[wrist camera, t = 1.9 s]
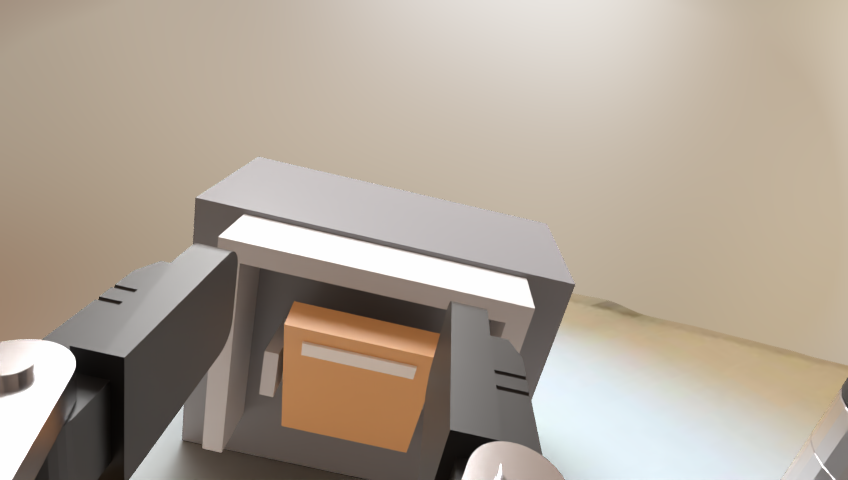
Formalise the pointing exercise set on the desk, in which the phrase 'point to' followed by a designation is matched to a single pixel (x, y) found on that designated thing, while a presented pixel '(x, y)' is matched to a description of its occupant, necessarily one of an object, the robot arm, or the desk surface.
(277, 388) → the box
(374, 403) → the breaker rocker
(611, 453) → the desk surface
